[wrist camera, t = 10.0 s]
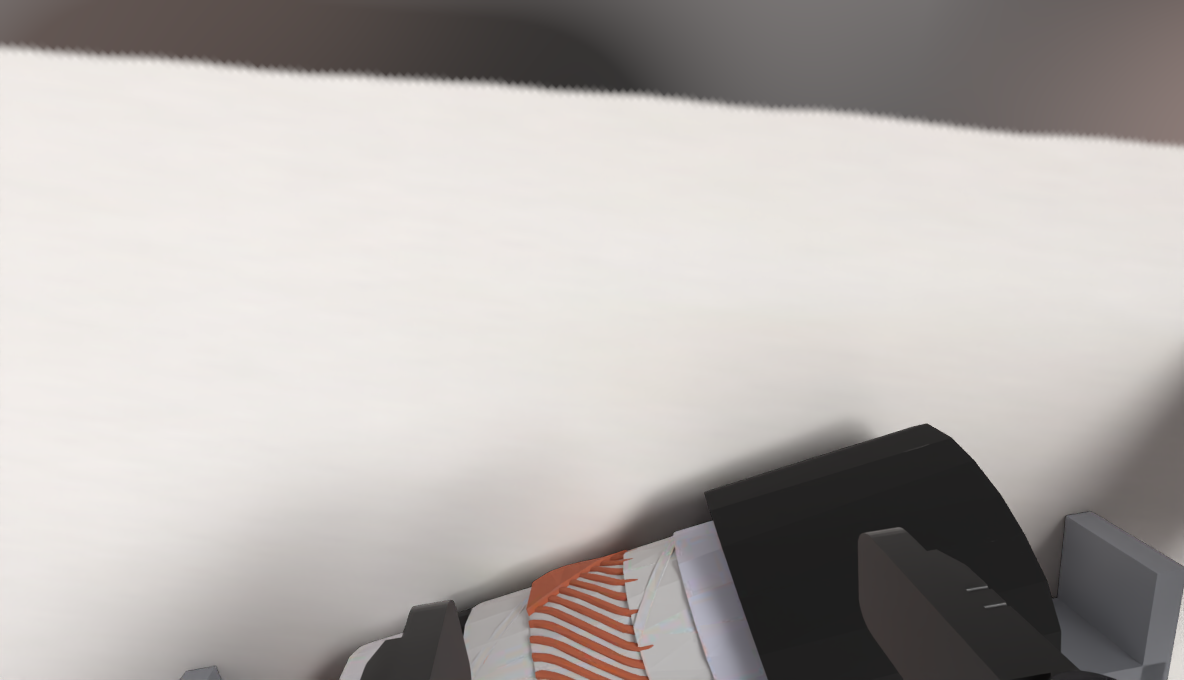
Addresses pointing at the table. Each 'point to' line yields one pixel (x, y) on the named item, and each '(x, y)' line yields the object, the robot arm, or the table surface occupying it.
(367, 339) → the table surface
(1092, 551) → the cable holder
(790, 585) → the cable
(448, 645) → the robot arm
